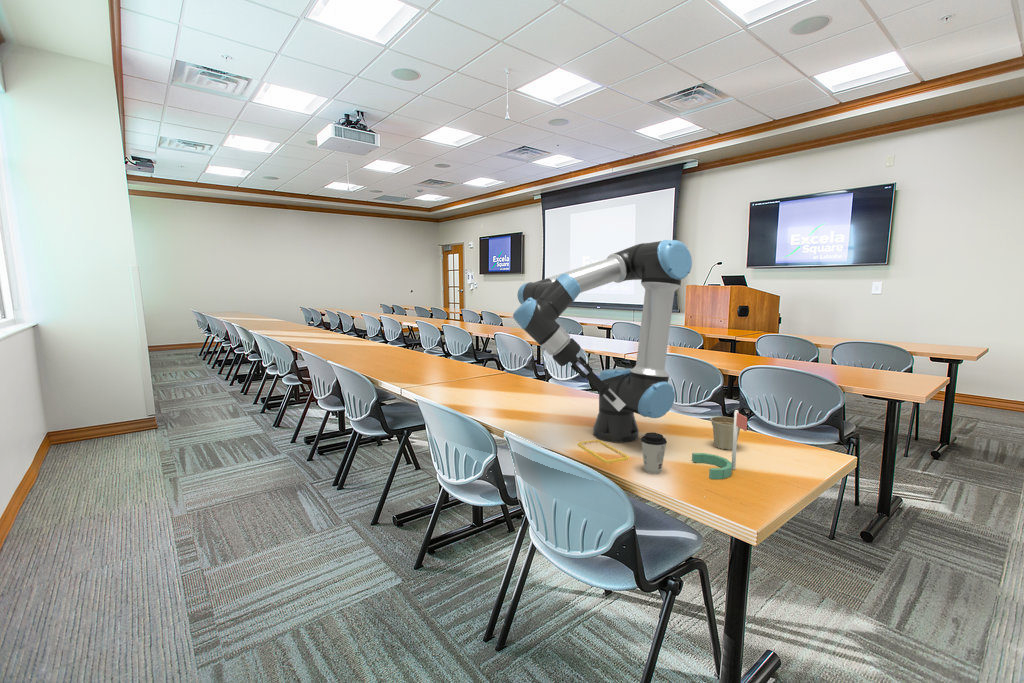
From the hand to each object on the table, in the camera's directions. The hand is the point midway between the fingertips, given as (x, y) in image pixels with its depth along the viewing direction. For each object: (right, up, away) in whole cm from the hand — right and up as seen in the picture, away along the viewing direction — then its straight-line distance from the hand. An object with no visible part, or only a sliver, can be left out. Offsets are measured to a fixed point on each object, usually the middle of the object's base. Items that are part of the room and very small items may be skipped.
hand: (621, 407), depth 123 cm
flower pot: (+38, -16, +21) cm, 46 cm away
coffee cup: (+9, -18, +2) cm, 20 cm away
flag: (+32, -18, 0) cm, 36 cm away
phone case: (-2, -17, +16) cm, 24 cm away
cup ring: (+26, -18, +3) cm, 32 cm away
